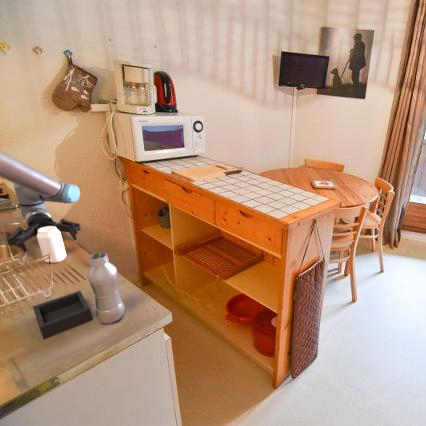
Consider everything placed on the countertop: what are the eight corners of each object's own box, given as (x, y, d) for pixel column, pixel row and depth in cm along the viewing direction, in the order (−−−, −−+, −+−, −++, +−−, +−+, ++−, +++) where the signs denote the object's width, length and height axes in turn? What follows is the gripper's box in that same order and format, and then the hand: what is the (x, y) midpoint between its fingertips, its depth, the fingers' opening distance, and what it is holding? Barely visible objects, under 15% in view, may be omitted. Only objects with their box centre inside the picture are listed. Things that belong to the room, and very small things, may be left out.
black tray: (43, 339, 79) (39, 327, 78) (36, 317, 86) (32, 306, 84) (92, 320, 86) (90, 308, 85) (83, 301, 93) (80, 290, 91)
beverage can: (40, 261, 109) (30, 230, 105) (60, 253, 115) (52, 223, 110) (51, 266, 107) (41, 234, 102) (71, 258, 112) (63, 228, 108)
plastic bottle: (93, 319, 86) (76, 256, 79) (119, 306, 92) (106, 246, 84) (104, 330, 83) (89, 265, 76) (130, 316, 89) (118, 254, 81)
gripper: (80, 222, 132) (95, 241, 119) (-3, 239, 115) (4, 264, 102) (76, 205, 129) (91, 223, 116) (-9, 220, 112) (-3, 243, 99)
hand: (50, 242), depth 109 cm, fingers open, 13 cm apart
